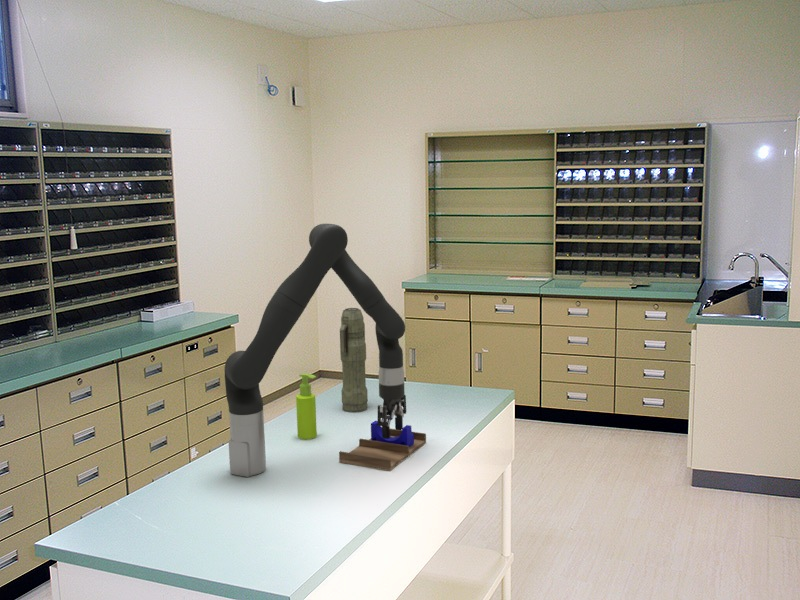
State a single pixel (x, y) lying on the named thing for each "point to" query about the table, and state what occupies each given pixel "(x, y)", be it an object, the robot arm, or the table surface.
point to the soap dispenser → (306, 409)
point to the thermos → (353, 360)
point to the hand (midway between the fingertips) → (392, 433)
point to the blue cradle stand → (403, 439)
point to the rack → (382, 452)
